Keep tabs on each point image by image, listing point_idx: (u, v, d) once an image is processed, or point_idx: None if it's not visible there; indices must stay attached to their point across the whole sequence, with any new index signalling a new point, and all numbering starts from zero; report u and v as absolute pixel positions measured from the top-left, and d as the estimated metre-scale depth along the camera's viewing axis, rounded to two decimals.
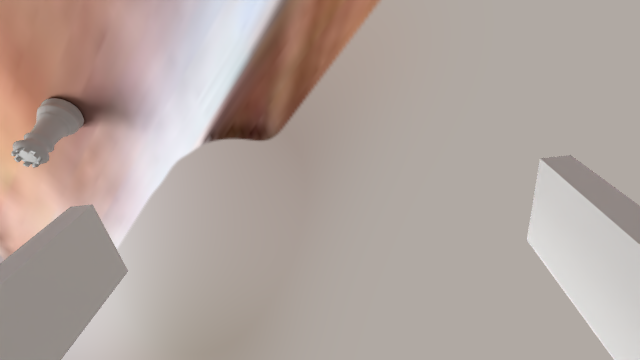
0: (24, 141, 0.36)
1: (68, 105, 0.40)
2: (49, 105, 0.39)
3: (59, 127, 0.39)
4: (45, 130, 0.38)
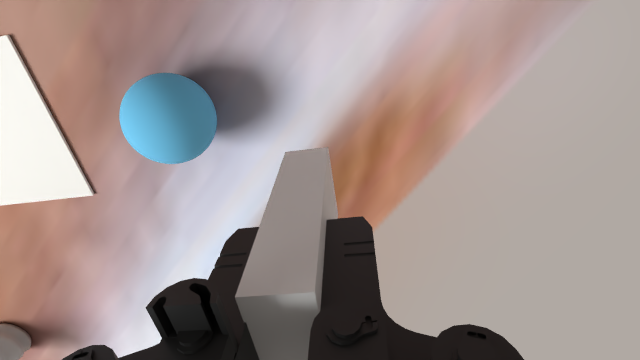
0: None
1: (15, 331, 0.37)
2: None
3: None
4: None
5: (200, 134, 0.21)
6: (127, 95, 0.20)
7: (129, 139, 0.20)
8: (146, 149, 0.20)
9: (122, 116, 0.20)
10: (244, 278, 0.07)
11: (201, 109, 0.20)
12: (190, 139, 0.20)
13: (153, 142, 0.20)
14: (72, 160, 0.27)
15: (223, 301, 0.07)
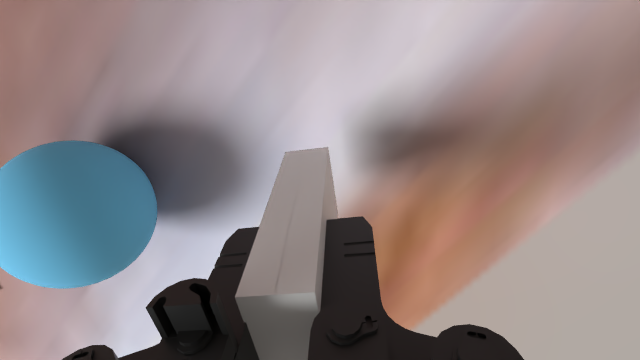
0: None
1: None
2: None
3: None
4: None
5: (118, 247, 0.12)
6: None
7: None
8: (22, 278, 0.12)
9: None
10: (244, 278, 0.07)
11: (119, 206, 0.12)
12: (99, 259, 0.12)
13: (29, 270, 0.11)
14: None
15: (223, 301, 0.07)
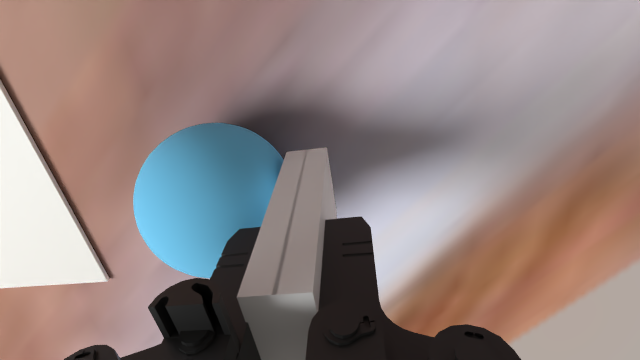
0: None
1: None
2: None
3: None
4: None
5: None
6: (146, 165, 0.11)
7: (143, 238, 0.12)
8: (167, 263, 0.11)
9: (134, 201, 0.11)
10: (246, 278, 0.07)
11: None
12: None
13: (177, 258, 0.11)
14: (78, 234, 0.17)
15: (225, 301, 0.07)
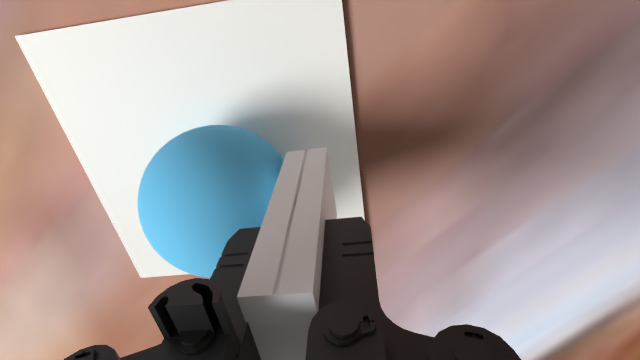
0: None
1: None
2: None
3: None
4: None
5: None
6: None
7: None
8: None
9: None
10: (246, 278, 0.07)
11: (149, 231, 0.11)
12: None
13: None
14: (360, 206, 0.16)
15: (225, 301, 0.07)
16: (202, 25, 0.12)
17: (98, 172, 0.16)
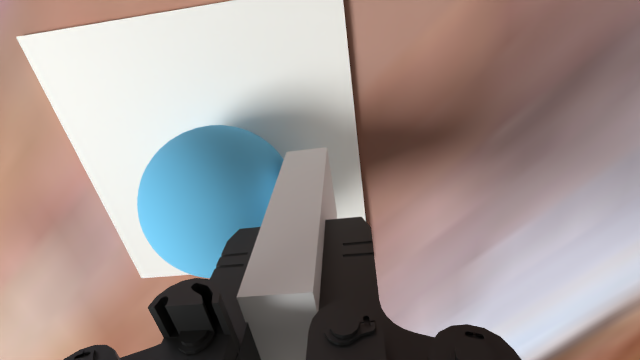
0: None
1: None
2: None
3: None
4: None
5: None
6: None
7: None
8: None
9: None
10: (246, 278, 0.07)
11: (149, 232, 0.11)
12: None
13: None
14: (361, 207, 0.16)
15: (225, 301, 0.07)
16: (203, 26, 0.12)
17: (99, 172, 0.16)
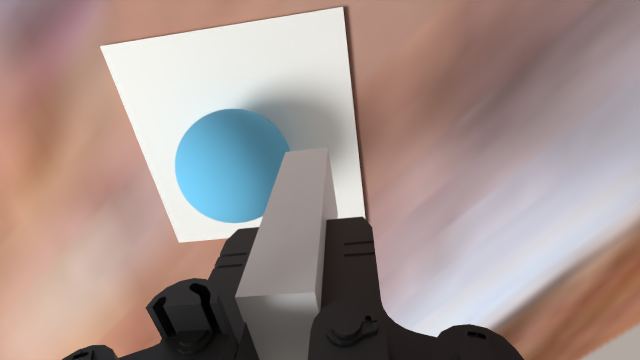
0: None
1: None
2: None
3: None
4: None
5: None
6: None
7: None
8: None
9: None
10: (244, 278, 0.07)
11: (177, 175, 0.16)
12: None
13: None
14: (358, 179, 0.20)
15: (223, 301, 0.07)
16: (241, 38, 0.17)
17: (152, 152, 0.20)
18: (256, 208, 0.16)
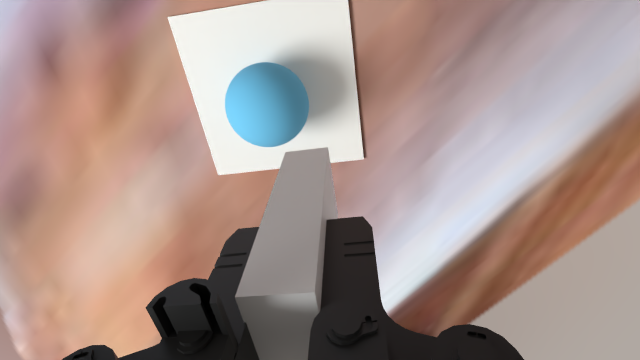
0: None
1: None
2: None
3: None
4: None
5: (232, 127, 0.23)
6: None
7: None
8: None
9: None
10: (244, 278, 0.07)
11: (228, 108, 0.22)
12: None
13: None
14: (358, 121, 0.26)
15: (223, 301, 0.07)
16: (272, 10, 0.23)
17: (201, 100, 0.26)
18: (284, 132, 0.22)
